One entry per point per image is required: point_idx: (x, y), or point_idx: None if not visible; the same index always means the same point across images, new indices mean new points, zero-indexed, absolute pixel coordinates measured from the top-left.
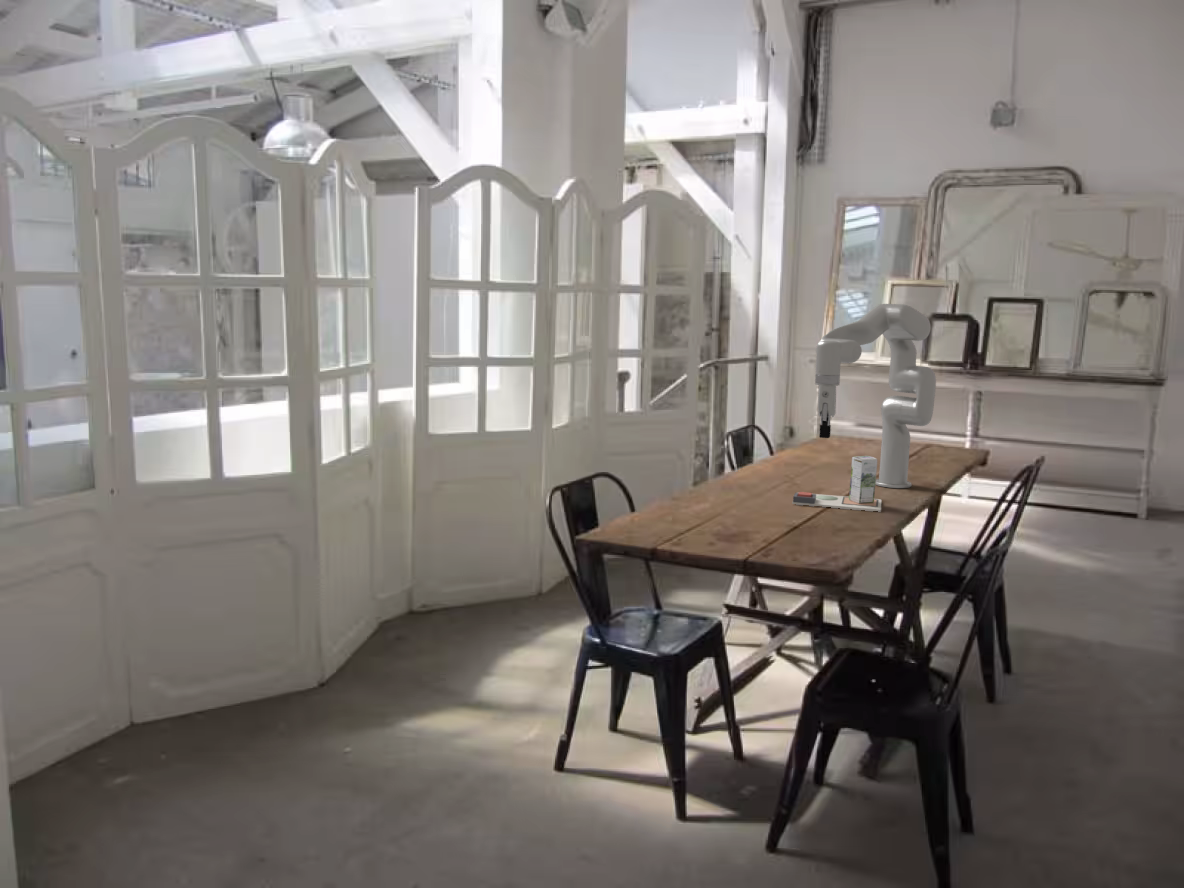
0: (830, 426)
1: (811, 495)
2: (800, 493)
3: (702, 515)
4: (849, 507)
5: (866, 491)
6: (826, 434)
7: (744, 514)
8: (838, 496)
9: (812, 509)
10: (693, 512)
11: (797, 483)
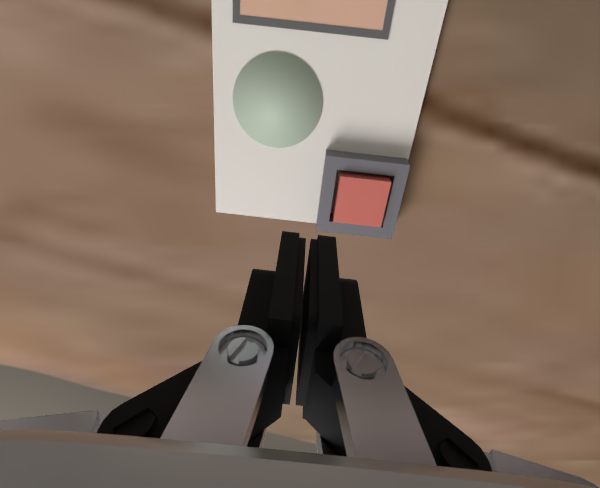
0: (282, 305)
1: (352, 174)
2: (366, 218)
3: (554, 418)
4: (447, 2)
5: None
6: (356, 286)
7: (543, 346)
8: (225, 46)
9: (458, 163)
10: (521, 432)
11: (7, 199)
